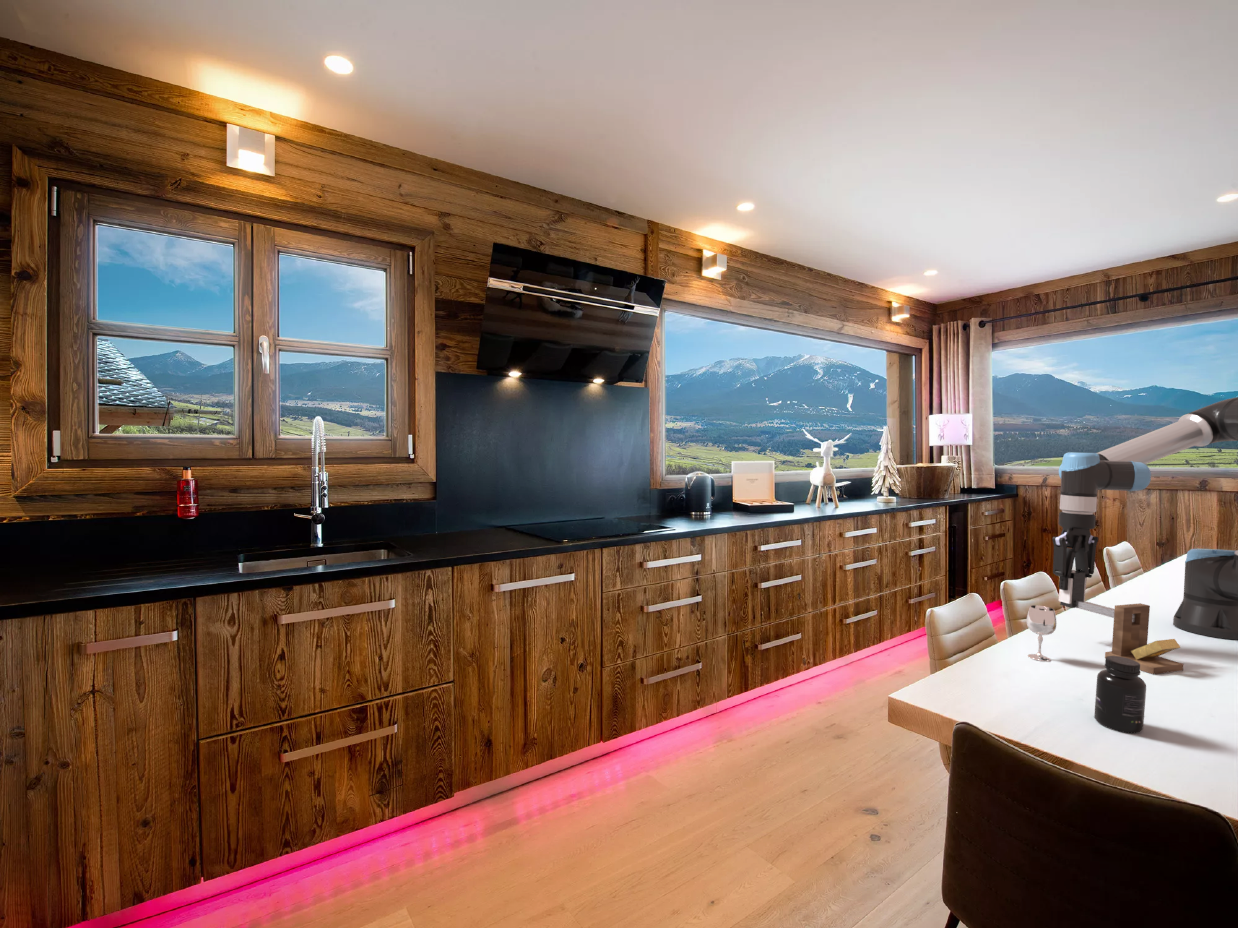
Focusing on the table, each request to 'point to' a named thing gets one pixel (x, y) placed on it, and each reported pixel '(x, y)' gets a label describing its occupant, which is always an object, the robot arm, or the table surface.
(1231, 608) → the robot arm
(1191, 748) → the table surface
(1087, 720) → the table surface
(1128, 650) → the bearing frame
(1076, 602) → the grey hammer
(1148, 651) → the block
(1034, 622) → the wineglass
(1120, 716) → the supplement bottle
